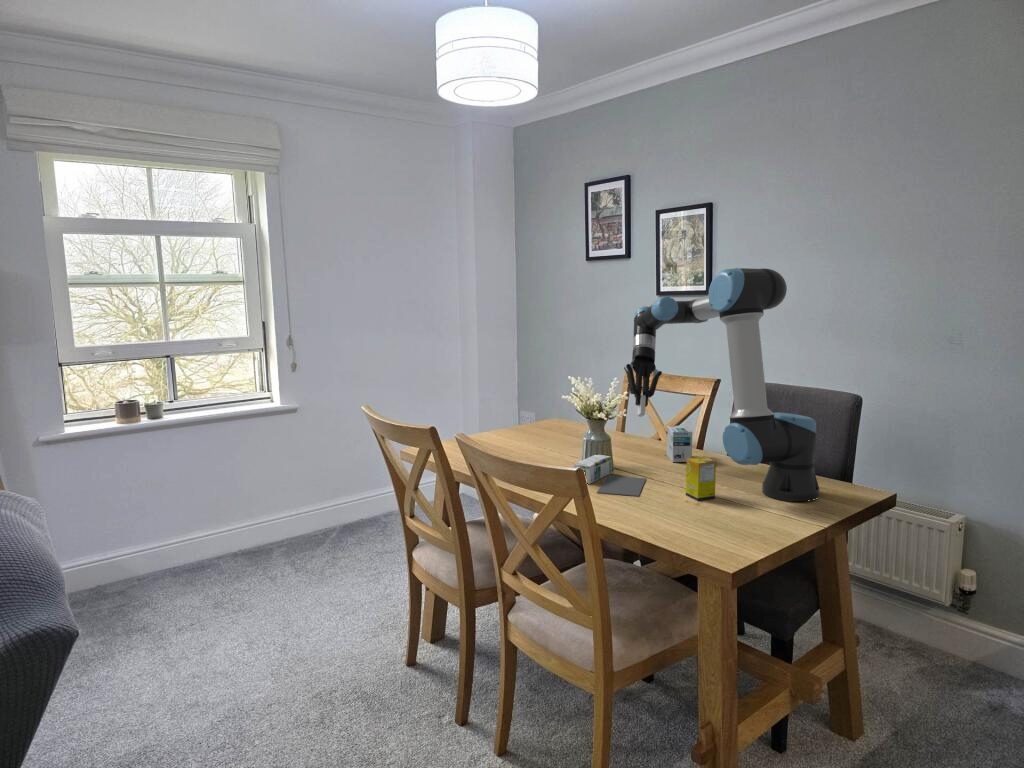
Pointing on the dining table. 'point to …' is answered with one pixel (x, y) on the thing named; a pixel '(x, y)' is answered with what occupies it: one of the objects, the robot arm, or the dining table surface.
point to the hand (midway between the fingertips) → (641, 414)
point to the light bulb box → (679, 443)
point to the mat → (622, 486)
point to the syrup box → (595, 467)
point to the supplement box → (700, 478)
